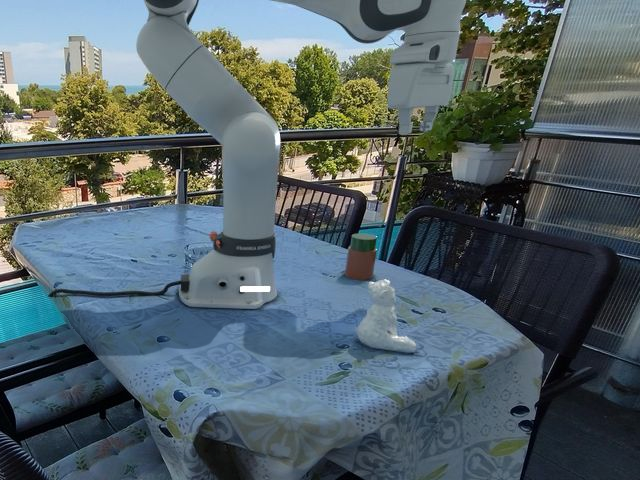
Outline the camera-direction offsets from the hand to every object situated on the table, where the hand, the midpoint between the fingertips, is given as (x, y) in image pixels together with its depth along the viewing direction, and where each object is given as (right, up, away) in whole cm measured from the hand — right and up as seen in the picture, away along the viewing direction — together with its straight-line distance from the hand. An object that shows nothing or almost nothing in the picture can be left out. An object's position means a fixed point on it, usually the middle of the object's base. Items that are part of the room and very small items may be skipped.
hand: (415, 132), depth 91 cm
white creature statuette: (-10, -40, -7) cm, 42 cm away
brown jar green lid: (0, -27, +25) cm, 36 cm away
